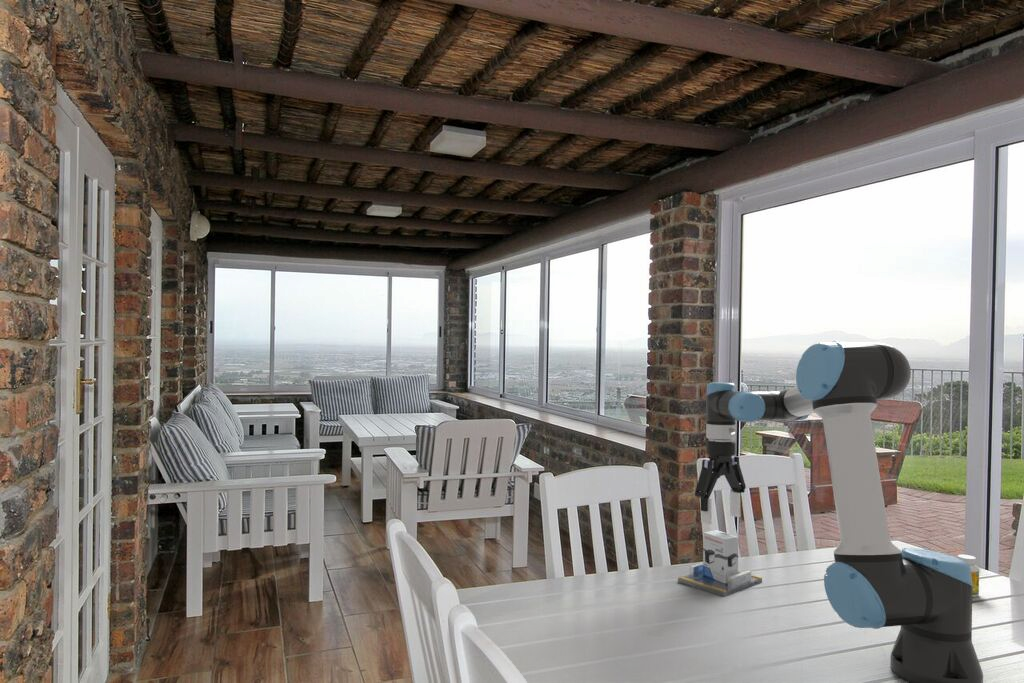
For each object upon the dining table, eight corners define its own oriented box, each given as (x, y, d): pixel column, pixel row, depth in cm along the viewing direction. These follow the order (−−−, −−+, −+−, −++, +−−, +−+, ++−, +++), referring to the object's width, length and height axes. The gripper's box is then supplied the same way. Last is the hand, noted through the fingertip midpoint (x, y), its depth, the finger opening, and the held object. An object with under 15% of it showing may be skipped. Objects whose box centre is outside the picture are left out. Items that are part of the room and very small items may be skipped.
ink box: (701, 574, 189) (702, 531, 189) (715, 572, 192) (715, 529, 192) (724, 584, 182) (725, 539, 182) (738, 581, 184) (739, 536, 184)
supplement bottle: (952, 589, 183) (952, 552, 183) (976, 592, 181) (976, 555, 181) (956, 595, 178) (956, 558, 178) (981, 599, 176) (981, 560, 176)
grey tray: (723, 596, 175) (724, 582, 176) (677, 582, 186) (677, 568, 186) (762, 581, 187) (762, 568, 187) (716, 569, 198) (716, 556, 198)
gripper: (705, 444, 176) (705, 529, 176) (758, 438, 192) (758, 515, 192) (681, 441, 182) (681, 523, 181) (734, 436, 198) (734, 511, 197)
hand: (721, 519), depth 187 cm, fingers open, 13 cm apart
